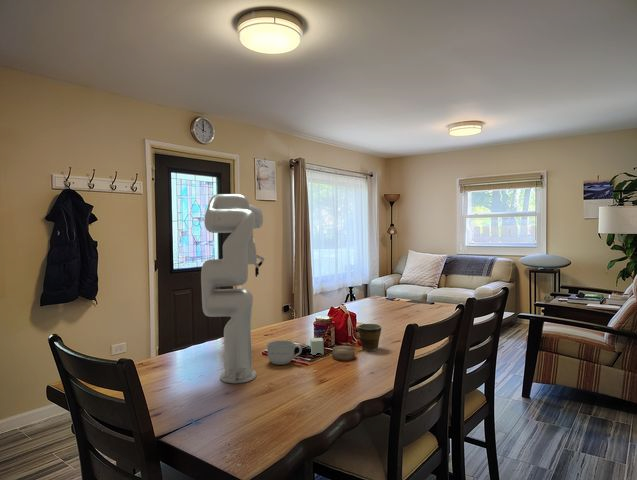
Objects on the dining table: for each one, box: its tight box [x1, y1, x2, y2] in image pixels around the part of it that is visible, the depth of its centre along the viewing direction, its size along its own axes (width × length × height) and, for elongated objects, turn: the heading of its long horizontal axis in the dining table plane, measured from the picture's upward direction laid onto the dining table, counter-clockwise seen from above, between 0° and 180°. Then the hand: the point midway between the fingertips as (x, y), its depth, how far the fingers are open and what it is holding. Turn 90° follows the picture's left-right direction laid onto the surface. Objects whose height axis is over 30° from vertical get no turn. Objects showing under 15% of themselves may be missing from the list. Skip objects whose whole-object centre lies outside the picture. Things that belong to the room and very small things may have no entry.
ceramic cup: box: [350, 323, 382, 353], centre depth 182 cm, size 13×10×10 cm
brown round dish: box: [331, 345, 356, 362], centre depth 171 cm, size 9×9×4 cm
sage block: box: [309, 337, 325, 356], centre depth 177 cm, size 5×5×6 cm
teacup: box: [266, 339, 303, 366], centre depth 165 cm, size 14×11×8 cm
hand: (245, 276), depth 193 cm, fingers open, 9 cm apart
